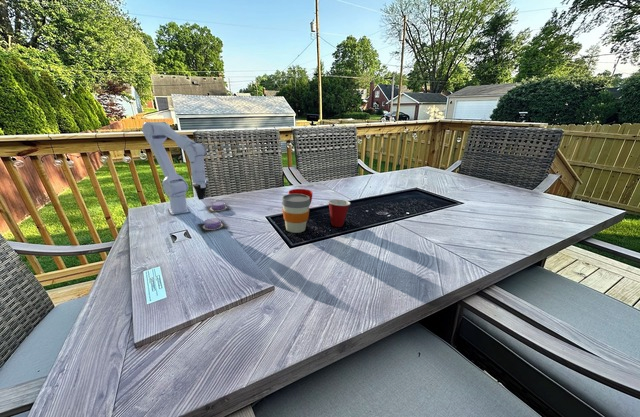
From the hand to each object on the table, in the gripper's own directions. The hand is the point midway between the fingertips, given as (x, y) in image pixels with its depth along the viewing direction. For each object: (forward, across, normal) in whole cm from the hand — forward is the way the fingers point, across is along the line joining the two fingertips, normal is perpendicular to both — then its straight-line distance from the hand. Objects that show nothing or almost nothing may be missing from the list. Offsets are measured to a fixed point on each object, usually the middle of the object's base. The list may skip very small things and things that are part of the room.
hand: (201, 199), depth 124 cm
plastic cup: (+10, -40, -52) cm, 66 cm away
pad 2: (+9, -13, -1) cm, 16 cm away
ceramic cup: (+10, -14, -46) cm, 49 cm away
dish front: (+9, -13, -1) cm, 16 cm away
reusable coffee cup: (+10, -34, -32) cm, 48 cm away
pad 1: (+9, +10, -10) cm, 17 cm away
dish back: (+9, +10, -10) cm, 17 cm away
